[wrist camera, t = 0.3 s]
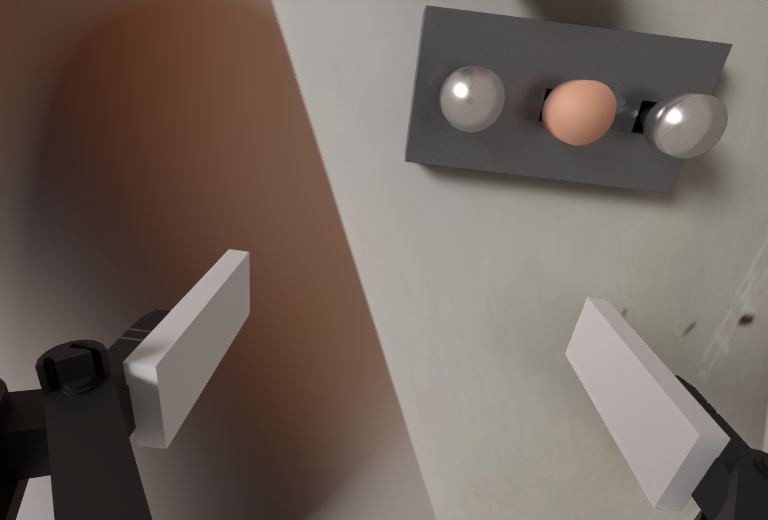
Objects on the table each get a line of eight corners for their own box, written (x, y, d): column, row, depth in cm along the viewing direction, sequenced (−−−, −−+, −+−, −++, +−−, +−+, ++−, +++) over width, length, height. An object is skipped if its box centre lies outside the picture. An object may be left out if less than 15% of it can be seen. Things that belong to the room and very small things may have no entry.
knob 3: (632, 86, 34) (676, 90, 29) (685, 93, 34) (738, 98, 29) (614, 141, 36) (652, 154, 31) (663, 147, 36) (710, 161, 31)
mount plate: (423, 11, 35) (426, 5, 32) (699, 46, 36) (732, 44, 32) (404, 152, 41) (405, 161, 37) (646, 182, 41) (669, 193, 37)
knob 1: (440, 62, 34) (448, 62, 28) (493, 69, 34) (511, 70, 29) (432, 118, 36) (437, 128, 30) (482, 125, 36) (496, 135, 30)
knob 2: (537, 74, 34) (562, 76, 29) (589, 81, 34) (625, 84, 29) (523, 130, 36) (545, 141, 30) (573, 136, 36) (604, 148, 31)
